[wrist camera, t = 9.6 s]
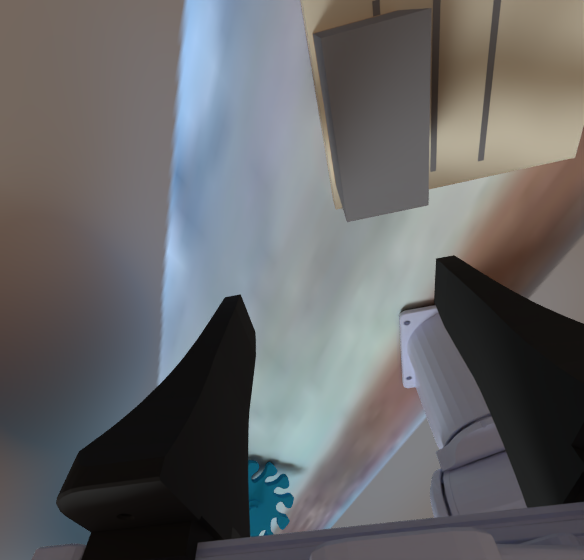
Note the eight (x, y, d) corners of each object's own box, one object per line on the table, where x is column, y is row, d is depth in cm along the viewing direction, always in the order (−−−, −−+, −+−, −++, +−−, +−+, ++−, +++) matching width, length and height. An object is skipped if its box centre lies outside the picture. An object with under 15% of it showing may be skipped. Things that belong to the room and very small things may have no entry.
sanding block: (401, 170, 19) (428, 205, 15) (335, 184, 19) (347, 221, 16) (395, 10, 15) (431, 8, 11) (312, 33, 15) (320, 37, 12)
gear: (310, 484, 41) (267, 574, 38) (292, 464, 46) (253, 541, 44) (231, 445, 38) (179, 539, 35) (222, 428, 43) (176, 508, 41)
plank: (560, 150, 20) (575, 157, 19) (333, 200, 21) (335, 209, 20) (621, -102, 14) (647, -112, 13) (299, -8, 15) (300, -10, 14)
